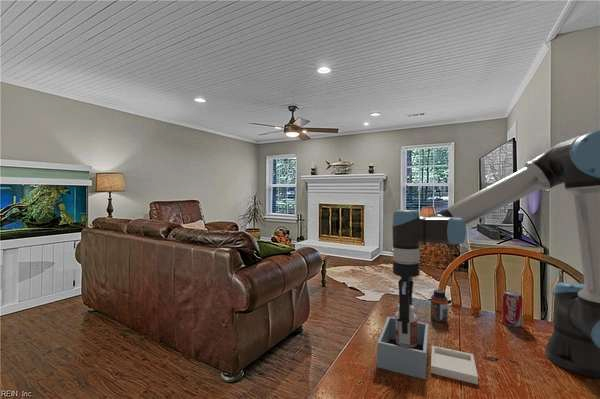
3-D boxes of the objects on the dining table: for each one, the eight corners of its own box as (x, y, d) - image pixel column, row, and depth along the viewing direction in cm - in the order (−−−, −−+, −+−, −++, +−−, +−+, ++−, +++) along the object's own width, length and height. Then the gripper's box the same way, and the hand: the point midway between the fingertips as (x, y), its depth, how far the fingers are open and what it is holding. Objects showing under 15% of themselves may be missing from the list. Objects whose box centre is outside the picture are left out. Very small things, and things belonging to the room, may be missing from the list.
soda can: (502, 319, 116) (502, 289, 115) (522, 323, 112) (523, 292, 112) (500, 324, 111) (501, 293, 111) (521, 329, 107) (522, 296, 107)
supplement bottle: (427, 317, 117) (427, 289, 116) (439, 315, 118) (439, 287, 118) (438, 323, 111) (438, 294, 111) (450, 321, 113) (451, 292, 113)
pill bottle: (421, 344, 87) (421, 307, 87) (408, 350, 84) (408, 311, 84) (404, 336, 92) (403, 301, 92) (391, 341, 89) (391, 305, 89)
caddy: (427, 345, 95) (428, 323, 94) (425, 379, 77) (426, 353, 77) (387, 336, 100) (388, 316, 100) (376, 367, 82) (377, 342, 82)
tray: (472, 360, 86) (473, 354, 86) (477, 384, 75) (478, 376, 75) (431, 351, 91) (431, 345, 91) (430, 372, 80) (431, 365, 80)
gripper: (396, 254, 98) (397, 323, 98) (388, 267, 81) (388, 350, 81) (421, 256, 95) (421, 327, 95) (417, 269, 78) (417, 356, 78)
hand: (406, 337), depth 88 cm, fingers closed on pill bottle, 6 cm apart
